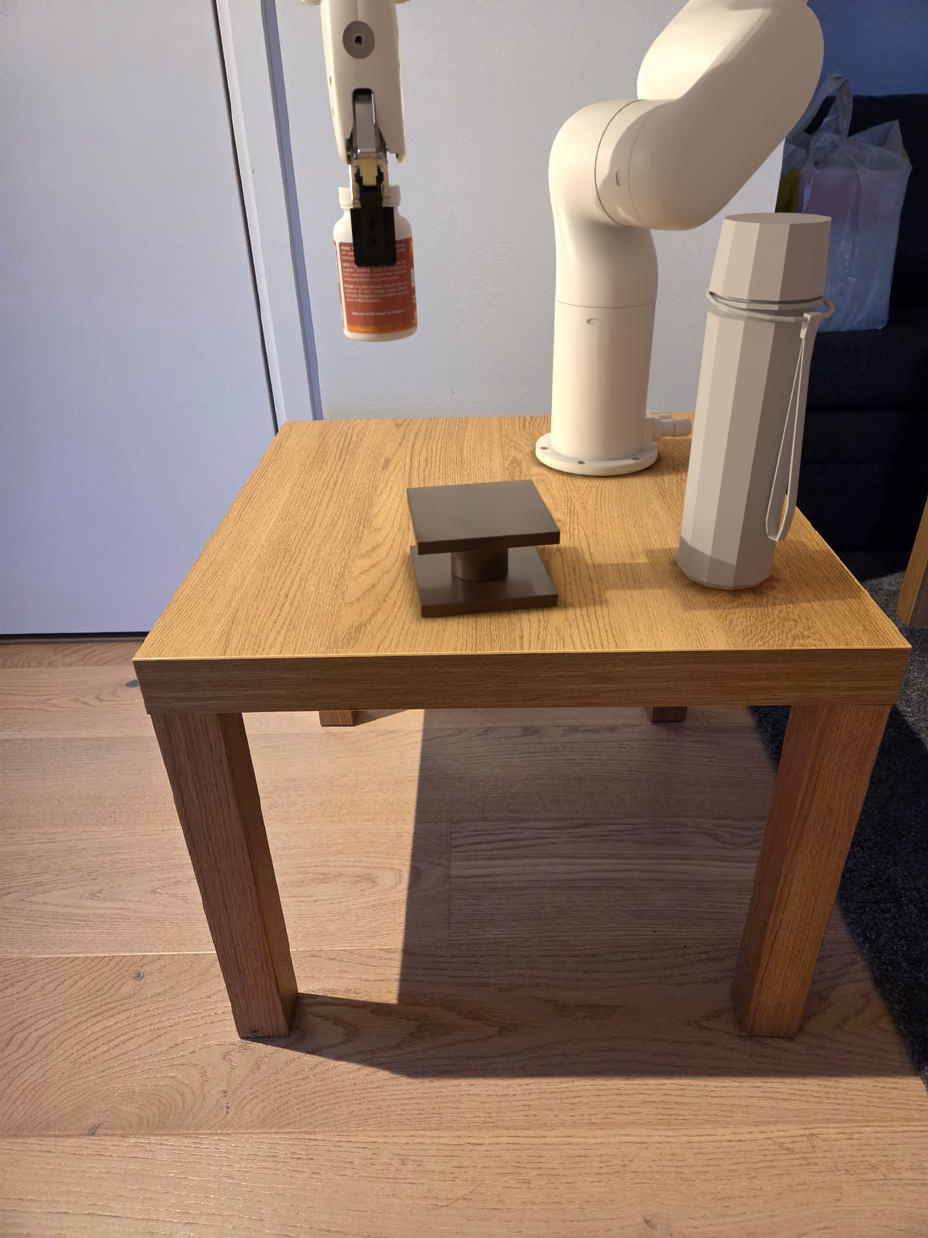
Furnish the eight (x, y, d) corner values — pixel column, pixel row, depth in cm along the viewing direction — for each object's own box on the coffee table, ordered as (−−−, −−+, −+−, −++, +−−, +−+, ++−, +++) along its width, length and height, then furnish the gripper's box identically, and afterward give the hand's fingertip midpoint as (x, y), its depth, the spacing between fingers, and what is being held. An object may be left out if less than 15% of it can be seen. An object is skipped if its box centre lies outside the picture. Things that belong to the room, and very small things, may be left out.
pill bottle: (431, 336, 69) (424, 184, 63) (363, 347, 66) (349, 190, 61) (396, 323, 74) (387, 180, 68) (331, 333, 71) (316, 185, 65)
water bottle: (652, 564, 67) (689, 216, 54) (731, 544, 70) (784, 208, 57) (729, 617, 60) (793, 230, 47) (814, 592, 62) (896, 221, 50)
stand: (530, 546, 70) (531, 478, 67) (557, 606, 62) (560, 531, 58) (410, 556, 69) (406, 487, 66) (421, 618, 60) (417, 542, 57)
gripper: (415, -46, 51) (429, 274, 60) (405, -10, 65) (417, 242, 75) (288, -43, 50) (323, 279, 59) (307, -8, 65) (332, 246, 74)
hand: (375, 256), depth 67 cm, fingers closed on pill bottle, 6 cm apart
